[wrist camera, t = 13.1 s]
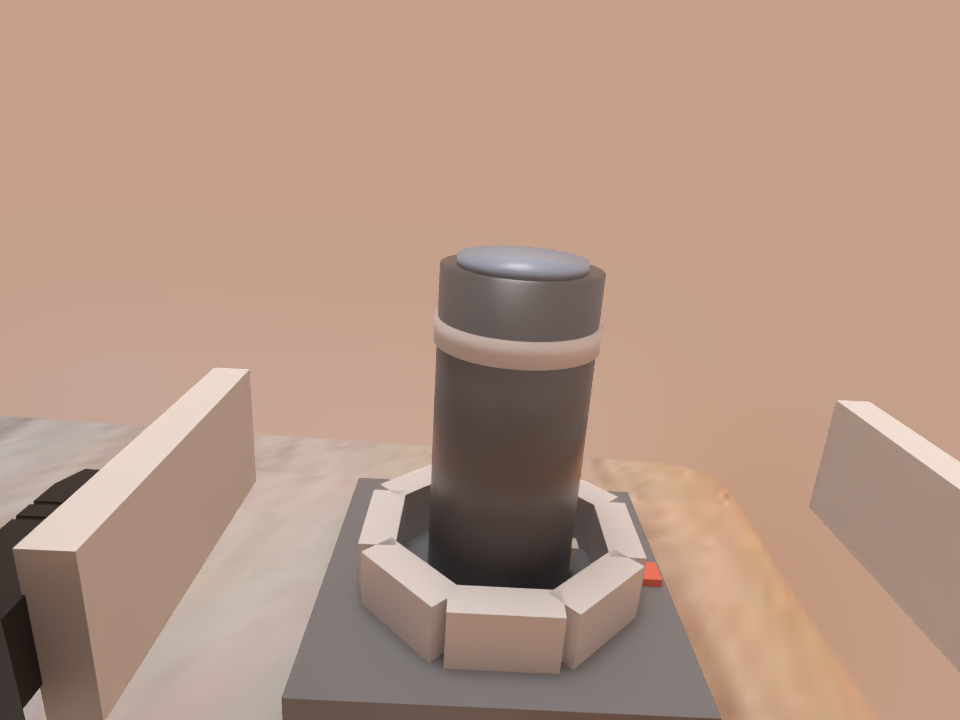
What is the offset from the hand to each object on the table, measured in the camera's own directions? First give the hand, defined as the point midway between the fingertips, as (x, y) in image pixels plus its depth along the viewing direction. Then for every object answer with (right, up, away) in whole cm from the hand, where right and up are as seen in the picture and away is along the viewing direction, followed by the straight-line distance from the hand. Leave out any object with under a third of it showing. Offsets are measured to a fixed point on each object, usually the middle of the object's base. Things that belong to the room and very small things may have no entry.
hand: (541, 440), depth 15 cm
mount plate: (-1, -7, +9) cm, 11 cm away
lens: (-1, -6, +9) cm, 10 cm away
